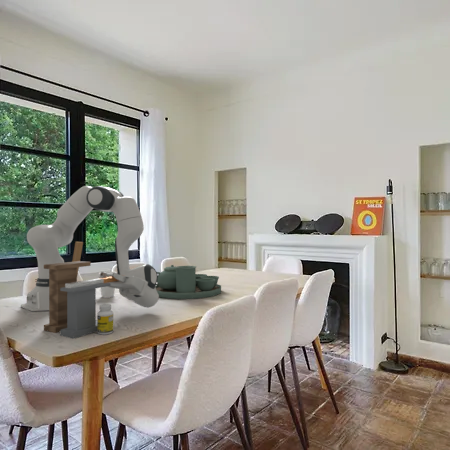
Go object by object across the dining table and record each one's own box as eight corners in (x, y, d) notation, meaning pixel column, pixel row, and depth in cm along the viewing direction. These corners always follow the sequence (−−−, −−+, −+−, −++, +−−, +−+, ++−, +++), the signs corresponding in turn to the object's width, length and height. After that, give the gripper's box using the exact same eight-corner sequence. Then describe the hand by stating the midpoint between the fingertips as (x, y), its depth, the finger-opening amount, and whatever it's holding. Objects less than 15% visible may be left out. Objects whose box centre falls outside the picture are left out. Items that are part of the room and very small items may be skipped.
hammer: (89, 294, 213) (98, 245, 212) (84, 296, 208) (93, 245, 207) (58, 287, 216) (66, 238, 215) (53, 289, 211) (62, 239, 210)
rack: (60, 335, 124) (60, 287, 124) (97, 324, 138) (97, 281, 138) (73, 338, 121) (73, 289, 121) (110, 326, 135) (110, 283, 135)
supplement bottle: (94, 334, 126) (93, 306, 126) (104, 329, 131) (104, 303, 131) (106, 335, 124) (106, 307, 124) (116, 331, 129) (116, 304, 129)
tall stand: (43, 330, 131) (43, 264, 131) (78, 321, 144) (78, 261, 144) (55, 333, 127) (55, 265, 127) (90, 323, 140) (90, 261, 140)
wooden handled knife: (65, 288, 124) (65, 283, 124) (120, 278, 145) (120, 275, 145) (70, 288, 122) (70, 284, 122) (125, 279, 144) (125, 275, 144)
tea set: (235, 294, 201) (235, 264, 202) (171, 303, 178) (171, 269, 178) (198, 285, 234) (198, 260, 234) (140, 291, 211) (140, 263, 211)
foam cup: (117, 297, 192) (117, 273, 192) (98, 298, 189) (98, 274, 189) (116, 294, 201) (116, 271, 201) (98, 295, 198) (98, 272, 198)
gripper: (115, 278, 155) (92, 265, 145) (151, 282, 145) (129, 267, 134) (109, 292, 152) (85, 279, 142) (145, 297, 142) (123, 283, 132)
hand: (107, 274), depth 138 cm, fingers open, 5 cm apart
